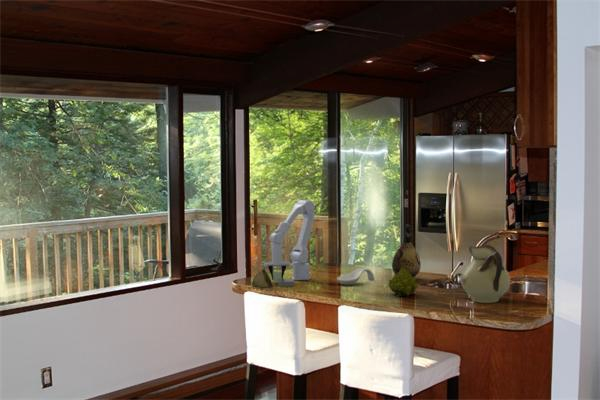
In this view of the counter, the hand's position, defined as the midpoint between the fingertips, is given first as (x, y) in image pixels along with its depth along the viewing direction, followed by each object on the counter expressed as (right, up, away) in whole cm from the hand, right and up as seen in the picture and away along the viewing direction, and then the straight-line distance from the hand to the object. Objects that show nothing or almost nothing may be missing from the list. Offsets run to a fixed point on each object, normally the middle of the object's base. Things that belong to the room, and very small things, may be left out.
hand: (277, 279), depth 395 cm
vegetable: (+63, -3, -40) cm, 75 cm away
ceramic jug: (+71, 0, +2) cm, 71 cm away
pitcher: (+99, -4, -57) cm, 115 cm away
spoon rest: (+42, -2, -5) cm, 43 cm away
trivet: (+5, -2, -9) cm, 11 cm away
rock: (-8, -3, -11) cm, 14 cm away
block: (0, -1, 0) cm, 1 cm away
